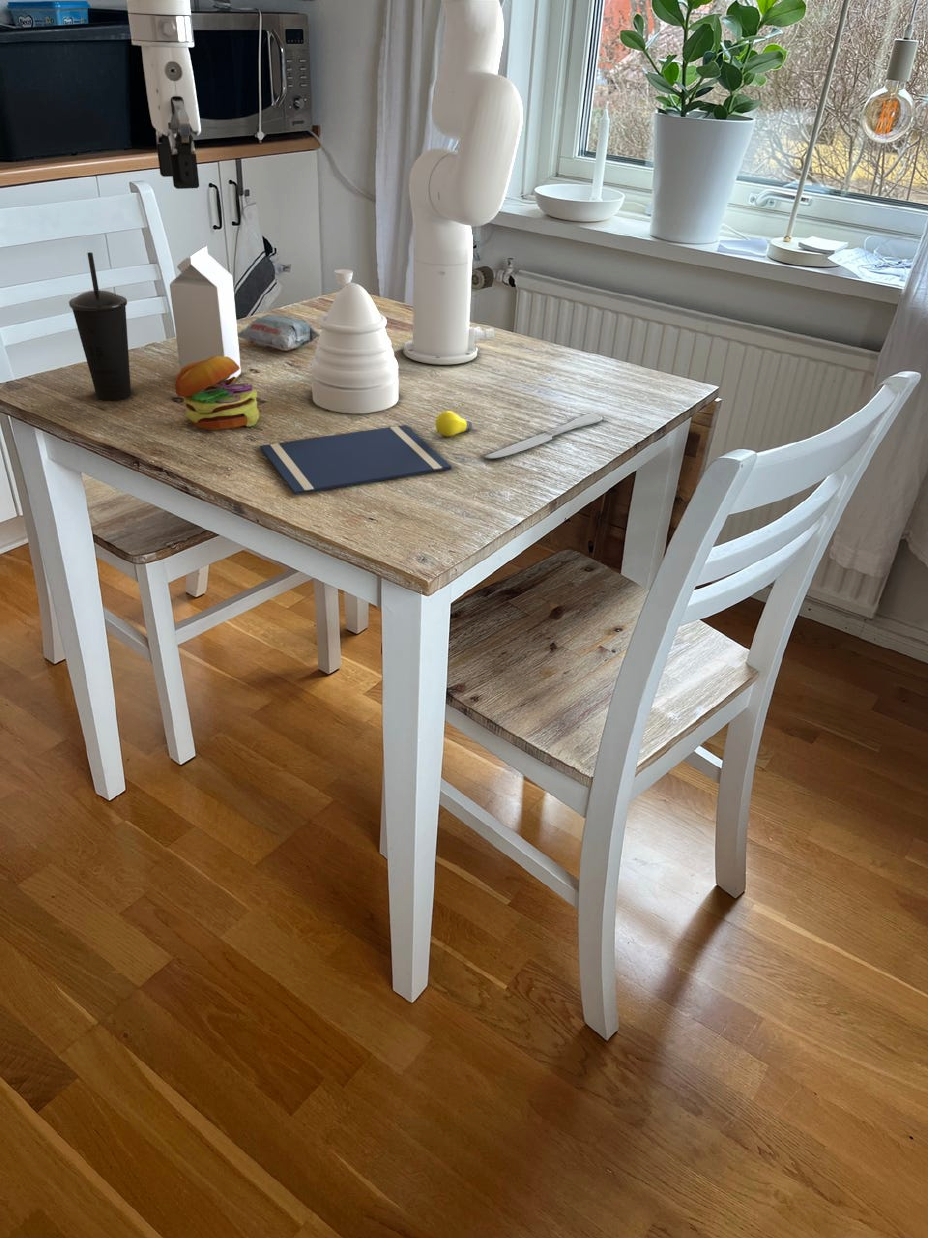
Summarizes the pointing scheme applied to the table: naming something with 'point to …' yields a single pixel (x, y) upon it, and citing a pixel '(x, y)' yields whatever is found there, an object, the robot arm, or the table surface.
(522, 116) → the robot arm
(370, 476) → the dish cloth
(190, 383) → the cheeseburger
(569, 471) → the table surface
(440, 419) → the light bulb
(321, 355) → the honey pot
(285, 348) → the packaged food
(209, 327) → the milk carton
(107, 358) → the drinking cup
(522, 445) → the butter knife
